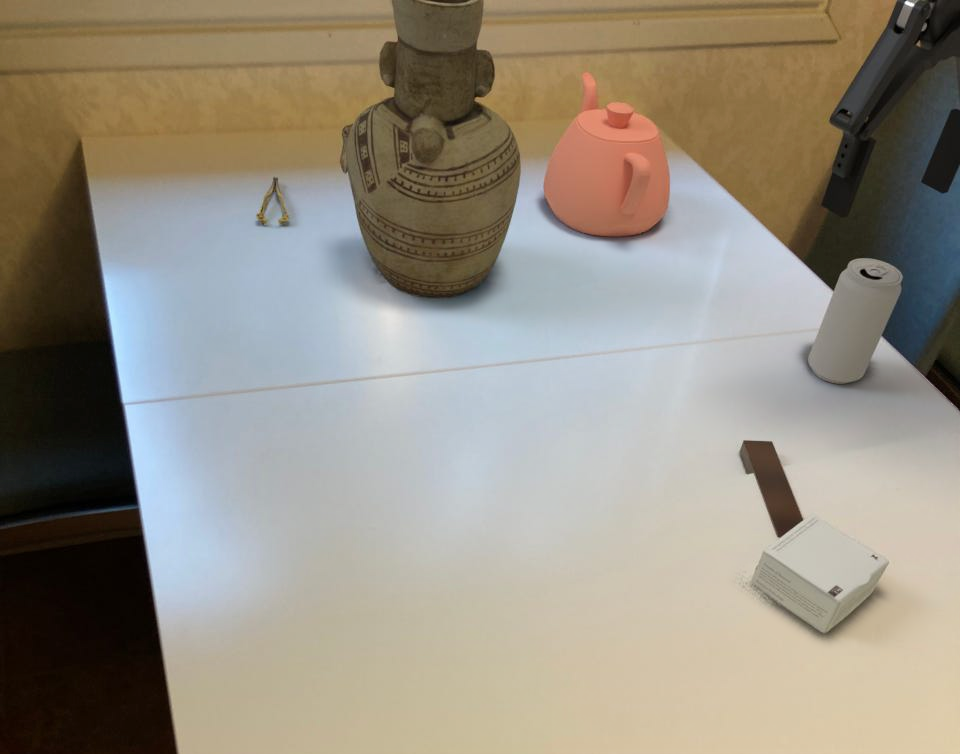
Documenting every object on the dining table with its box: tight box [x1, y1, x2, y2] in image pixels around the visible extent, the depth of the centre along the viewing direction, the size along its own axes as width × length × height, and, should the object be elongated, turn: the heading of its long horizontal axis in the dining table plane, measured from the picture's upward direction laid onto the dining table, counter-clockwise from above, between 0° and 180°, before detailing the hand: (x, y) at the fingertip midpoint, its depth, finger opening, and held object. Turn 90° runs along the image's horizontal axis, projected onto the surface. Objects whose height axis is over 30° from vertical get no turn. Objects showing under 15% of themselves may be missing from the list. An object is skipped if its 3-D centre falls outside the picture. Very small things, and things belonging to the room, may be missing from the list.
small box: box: [749, 513, 890, 634], centre depth 79 cm, size 8×8×5 cm
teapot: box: [542, 71, 671, 237], centre depth 123 cm, size 25×17×13 cm
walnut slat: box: [739, 439, 804, 539], centre depth 89 cm, size 14×3×2 cm, turn 2°
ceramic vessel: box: [339, 0, 522, 299], centre depth 102 cm, size 19×21×30 cm
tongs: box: [255, 176, 291, 227], centre depth 121 cm, size 4×13×2 cm, turn 11°
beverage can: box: [807, 257, 904, 385], centre depth 101 cm, size 6×6×12 cm
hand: (885, 199), depth 87 cm, fingers open, 13 cm apart
